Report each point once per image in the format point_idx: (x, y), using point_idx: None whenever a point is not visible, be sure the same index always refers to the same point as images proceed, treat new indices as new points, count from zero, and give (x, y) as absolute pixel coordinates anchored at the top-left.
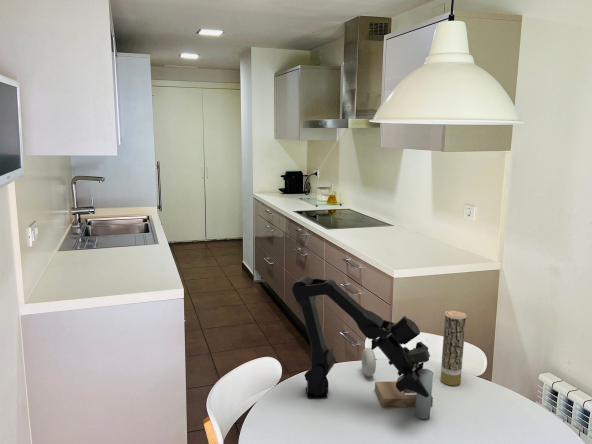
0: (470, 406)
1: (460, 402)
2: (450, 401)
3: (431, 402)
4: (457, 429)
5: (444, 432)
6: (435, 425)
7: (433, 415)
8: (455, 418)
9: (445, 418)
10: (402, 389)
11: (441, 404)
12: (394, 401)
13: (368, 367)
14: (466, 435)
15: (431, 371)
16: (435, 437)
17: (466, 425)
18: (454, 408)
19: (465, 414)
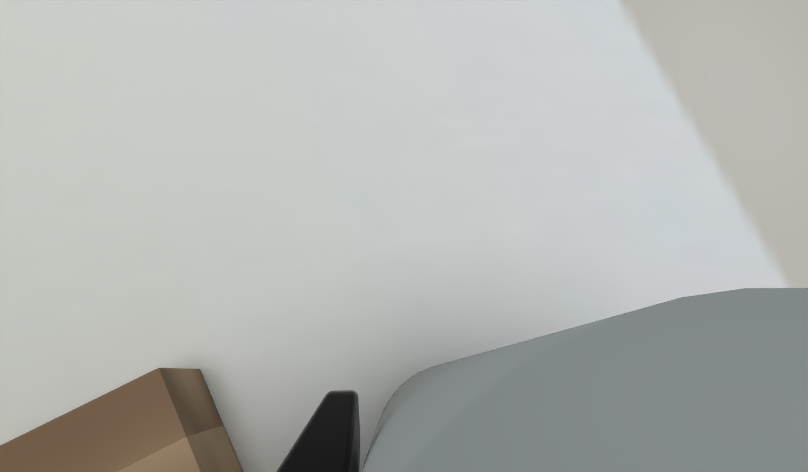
0: (65, 13)
1: (13, 102)
2: (22, 196)
3: (186, 381)
4: (526, 95)
5: (633, 197)
6: (556, 290)
7: (377, 332)
8: (344, 124)
9: (384, 212)
10: None
11: (117, 278)
12: None
13: None
14: (584, 21)
15: (510, 443)
16: (759, 265)
17: (424, 29)
18: (156, 147)
19: (234, 46)
